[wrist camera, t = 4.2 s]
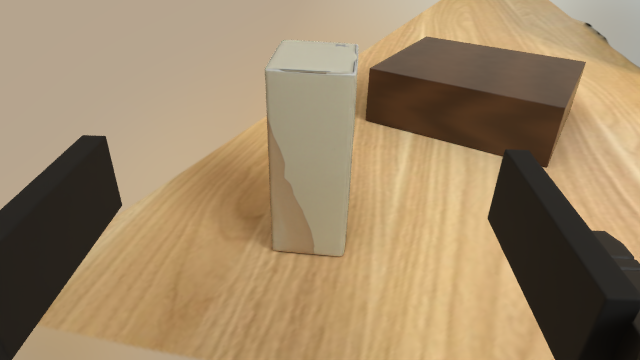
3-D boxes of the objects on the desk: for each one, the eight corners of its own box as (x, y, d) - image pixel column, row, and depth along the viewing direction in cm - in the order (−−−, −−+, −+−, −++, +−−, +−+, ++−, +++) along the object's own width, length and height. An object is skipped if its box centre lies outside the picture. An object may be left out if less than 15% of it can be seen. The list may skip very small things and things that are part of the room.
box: (285, 203, 31) (282, 36, 25) (349, 208, 31) (360, 40, 25) (270, 254, 27) (262, 65, 21) (344, 261, 26) (357, 71, 21)
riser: (365, 120, 43) (369, 68, 41) (420, 80, 54) (426, 36, 51) (546, 167, 36) (565, 108, 34) (570, 110, 47) (586, 61, 44)
